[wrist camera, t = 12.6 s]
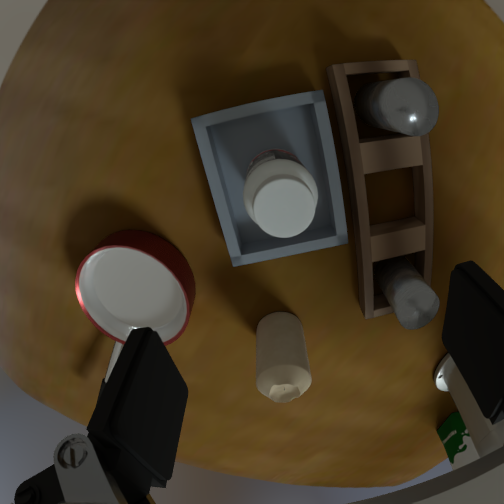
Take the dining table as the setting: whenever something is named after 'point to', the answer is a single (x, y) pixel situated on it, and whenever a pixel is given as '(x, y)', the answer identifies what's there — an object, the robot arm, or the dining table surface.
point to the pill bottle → (279, 193)
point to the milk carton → (457, 441)
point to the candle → (281, 357)
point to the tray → (253, 143)
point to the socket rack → (375, 160)
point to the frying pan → (135, 288)
